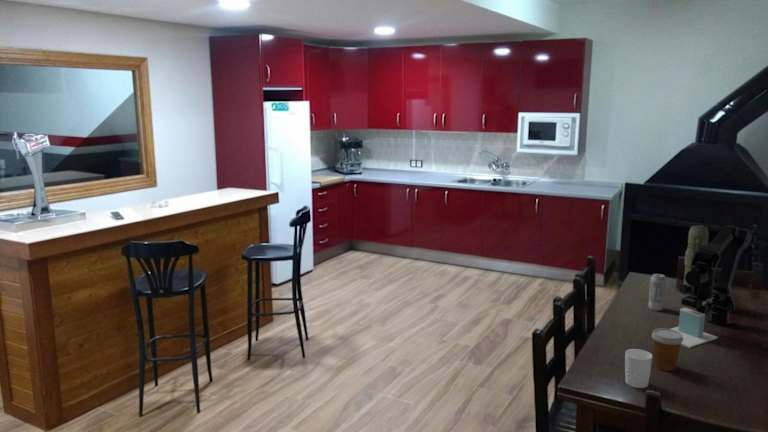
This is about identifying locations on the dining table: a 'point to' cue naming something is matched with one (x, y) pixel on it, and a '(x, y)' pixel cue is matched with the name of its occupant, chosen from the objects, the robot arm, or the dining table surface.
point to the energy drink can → (657, 292)
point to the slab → (691, 322)
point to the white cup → (637, 367)
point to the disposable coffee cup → (666, 348)
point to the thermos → (694, 247)
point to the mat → (694, 339)
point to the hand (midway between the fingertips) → (701, 319)
